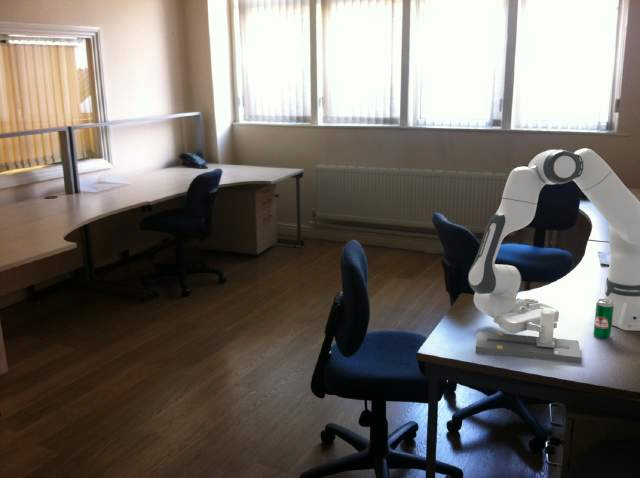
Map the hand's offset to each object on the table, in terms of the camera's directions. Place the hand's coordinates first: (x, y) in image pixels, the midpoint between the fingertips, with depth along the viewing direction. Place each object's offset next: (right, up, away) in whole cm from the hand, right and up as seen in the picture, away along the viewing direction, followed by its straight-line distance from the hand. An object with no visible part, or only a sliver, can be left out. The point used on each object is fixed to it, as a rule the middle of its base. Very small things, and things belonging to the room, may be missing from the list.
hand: (548, 327), depth 191 cm
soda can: (+21, -5, +13) cm, 25 cm away
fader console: (-5, -7, +4) cm, 10 cm away
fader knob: (0, -5, +2) cm, 5 cm away
